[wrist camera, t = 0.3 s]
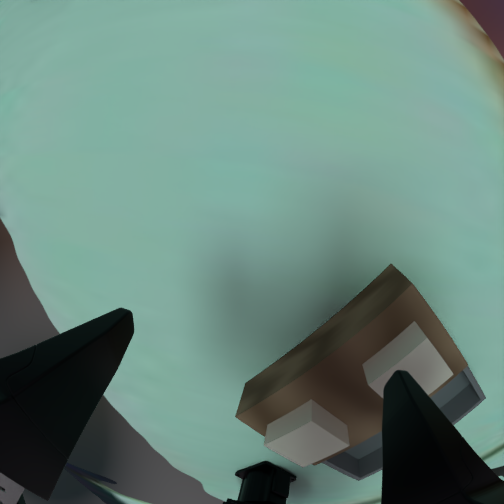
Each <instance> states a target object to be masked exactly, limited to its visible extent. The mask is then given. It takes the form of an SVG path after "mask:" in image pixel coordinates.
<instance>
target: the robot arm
mask: <svg viewBox="0 0 504 504" xmlns="http://www.w3.org/2000/svg"><path fill="white" fill-rule="evenodd" d="M133 334H134V322H133V314H132V312H131V311H130V310H127V309H124V308H118V309H116V310H113V311H111V312H109V313H107V314H104V315H102V316H100V317H98V318H95V319H93V320H91V321H88V322H86V323H84V324H82V325H79V326H77V327H75V328H73V329H70V330H68V331H66V332H63V333H61V334H59V335H57V336H54V337H52V338H50V339H48V340H45V341H43V342H41V343H39V344H37V345H34V346H32V347H30V348H27V349H25V350H22V351H20V352H17V353H15V354H12V355H10V356H6V357H4V358H0V504H26V503H25V500H24V497H23V494H22V492H23V490H24V489H27V490H29V491H31V492H32V493H34V494H36V495H38V496H39V497H41V498H43V499H45V500H47V501H48V500H49V498H50V496H51V494H52V491H53V490H54V487H55V485H56V483H57V481H58V479H59V477H60V475H61V473H62V471H63V469H64V467H65V465H66V463H67V461H68V460H67V459H68V458H69V456H70V454H71V452H72V451H73V449H74V447H75V445H76V443H77V441H78V439H79V437H80V435H81V433H82V432H83V430H84V427H85V426H86V424H87V422H88V420H89V419H90V417H91V415H92V413H93V411H94V410H95V408H96V406H97V404H98V402H99V401H100V399H101V397H102V395H103V394H104V392H105V390H106V388H107V387H108V385H109V383H110V382H111V380H112V378H113V376H114V375H115V373H116V371H117V369H118V367H119V365H120V363H121V361H122V358H123V356H124V354H125V352H126V349H127V347H128V345H129V343H130V341H131V339H132V336H133ZM382 457H383V467H382V500H381V504H504V481H503V480H501V479H500V478H499V477H498V476H497V475H496V474H495V473H494V472H493V471H492V470H491V469H490V468H489V467H488V466H487V464H486V463H485V462H484V461H483V460H482V459H481V458H480V457H479V456H478V455H477V454H476V453H475V451H474V450H473V449H472V448H471V447H470V445H469V444H468V443H467V442H466V440H465V439H464V438H463V437H462V435H461V434H460V433H459V432H458V431H457V429H456V428H455V427H454V426H453V424H452V423H451V422H450V421H449V419H448V418H447V417H446V416H445V415H444V413H443V412H442V411H441V410H440V409H439V407H438V406H437V405H436V404H435V403H434V401H433V400H432V399H431V398H430V397H429V396H428V394H427V393H426V392H425V391H424V390H423V389H422V387H421V386H420V385H419V384H418V383H417V382H416V380H415V379H414V378H413V377H412V376H411V375H410V374H409V372H408V371H405V370H396V371H395V372H394V373H393V375H392V376H391V377H390V379H389V380H388V381H387V383H386V384H385V386H384V390H383V414H382ZM235 475H236V476H237V477H239V478H241V479H243V481H242V484H241V488H240V492H239V496H238V500H232V499H227V502H223V504H286V498H288V495H289V486H290V482H293V481H295V480H296V476H294V475H292V474H290V473H288V472H286V471H284V470H282V469H280V468H278V467H276V466H274V465H272V464H271V463H269V462H262V463H259V464H257V465H254V466H252V467H249V468H246V469H243V470H240V471H237V472H236V473H235Z"/></svg>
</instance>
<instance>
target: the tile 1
mask: <svg viewBox="0 0 504 504" xmlns="http://www.w3.org/2000/svg"><path fill="white" fill-rule="evenodd" d="M264 446H266V447H267V448H269V449H271V450H273V451H274V452H276V453H278V454H279V455H281V456H283V457H285V458H286V459H288V460H290V461H292V462H294V463H296V464H297V465H299V466H301V467H305V466H308V465H310V464H313V463H315V462H317V461H319V460H322V459H324V458H326V457H328V456H330V455H332V454H334V453H336V452H338V451H340V450H342V449H344V448H346V447H348V446H350V445H349V436H348V428H347V425H346V424H345V423H343V422H342V421H340V420H339V419H338V418H336V417H335V416H334V415H332V414H331V413H329V412H328V411H327V410H325V409H324V408H323V407H321V406H320V405H319V404H317V403H316V402H315V401H313V400H312V399H311V400H309V401H308V402H306V403H305V404H303V405H301V406H300V407H298V408H296V409H295V410H293V411H291V412H289V413H288V414H286V415H284V416H282V417H281V418H279V419H277V420H275V421H273V422H272V423H270V424H268V425H267V430H266V436H265V441H264Z"/></svg>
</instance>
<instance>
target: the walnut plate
mask: <svg viewBox="0 0 504 504" xmlns="http://www.w3.org/2000/svg"><path fill="white" fill-rule="evenodd" d="M414 321H415V322H416V323H417V325H418V326H419V327H420V328H421V330H422V331H423V332H424V334H425V335H426V336H427V338H428V339H429V340H430V341H431V343H432V344H433V346H434V347H435V348H436V350H437V351H438V352H439V354H440V355H441V356H442V358H443V359H444V361H445V362H446V364H447V365H448V367H449V368H450V370H451V371H452V373H453V375H452V376H451V377H450V378H449V379H448V380H446V381H445V382H444V383H443V384H442V385H440V386H439V387H438V388H437V389H436V390H434V391H433V392H432V393H430V394H429V395H428V396H429V397H432V396H433V395H434V394H435V393H437V392H438V391H439V390H440V389H442V388H443V387H444V386H445V385H446V384H448V383H449V382H450V381H451V380H452V379H453V378H455V377H456V376H457V375H458V374H459V373H460V372H461V371H462V370H464V369H465V368H466V367H467V366H468V364H467V362H466V361H465V359H464V357H463V356H462V354H461V352H460V351H459V349H458V348H457V346H456V345H455V343H454V341H453V340H452V338H451V337H450V335H449V334H448V332H447V331H446V329H445V328H444V326H443V325H442V323H441V322H440V321H439V319H438V318H437V316H436V315H435V313H434V312H433V311H432V309H431V308H430V306H429V305H428V304H427V302H426V301H425V299H424V298H423V297H422V295H421V294H420V293H419V291H418V290H417V289H416V287H415V286H414V285H413V284H412V283H411V282H410V281H409V280H408V279H407V278H406V277H405V276H404V275H403V274H402V273H401V272H400V271H399V270H398V269H396V268H395V267H394V266H393V265H392V264H390V265H389V266H388V267H387V268H386V269H385V270H384V271H383V272H382V273H381V274H380V275H379V276H378V277H377V278H376V279H375V280H373V281H372V282H371V283H370V284H369V285H368V286H367V287H366V288H365V289H364V290H363V291H362V292H360V293H359V294H358V295H357V296H356V297H355V298H354V299H353V300H352V301H350V302H349V303H348V304H347V305H346V306H345V307H344V308H342V309H341V310H340V311H339V312H338V313H337V314H335V315H334V316H333V317H332V318H331V319H329V320H328V321H327V322H326V323H325V324H323V325H322V326H321V327H320V328H319V329H317V330H316V331H315V332H314V333H312V334H311V335H310V336H309V337H307V338H306V339H305V340H304V341H302V342H301V343H300V344H298V345H297V346H296V347H295V348H293V349H292V350H291V351H289V352H288V353H287V354H285V355H284V356H283V357H281V358H280V359H279V360H277V361H276V362H275V363H273V364H272V365H271V366H269V367H268V368H266V369H265V370H264V371H262V372H261V373H259V374H258V375H256V376H255V377H254V378H252V379H251V380H249V381H248V382H246V383H245V386H244V390H243V393H242V396H241V400H240V403H239V406H238V410H237V413H236V416H235V417H236V418H238V419H239V420H241V421H242V422H243V423H245V424H246V425H248V426H249V427H251V428H252V429H254V430H255V431H257V432H258V433H260V434H261V435H263V436H266V430H267V425H268V424H270V423H272V422H273V421H275V420H277V419H279V418H281V417H282V416H284V415H286V414H288V413H289V412H291V411H293V410H295V409H296V408H298V407H300V406H301V405H303V404H305V403H306V402H308V401H309V400H311V399H312V400H313V401H315V402H316V403H317V404H319V405H320V406H321V407H323V408H324V409H325V410H327V411H328V412H329V413H331V414H332V415H334V416H335V417H336V418H338V419H339V420H340V421H342V422H343V423H345V424H346V425H347V428H348V436H349V445H350V446H348V447H346V448H344V449H342V450H340V451H338V452H336V453H334V454H332V455H330V456H328V457H326V458H324V459H322V460H319V461H317V462H315V463H313V465H317V464H319V463H321V462H323V461H326V460H328V459H330V458H332V457H334V456H336V455H338V454H340V453H342V452H344V451H346V450H348V449H350V448H352V447H354V446H356V445H358V444H360V443H361V442H363V441H365V440H367V439H369V438H370V437H372V436H374V435H376V434H377V433H379V432H381V431H382V414H383V398H382V397H381V396H380V395H379V394H377V393H376V392H375V391H374V390H373V389H372V388H371V387H370V386H368V383H367V379H366V376H365V372H364V369H363V365H362V364H363V363H365V362H366V361H367V360H369V359H370V358H371V357H372V356H374V355H375V354H376V353H378V352H379V351H380V350H381V349H382V348H384V347H385V346H386V345H387V344H389V343H390V342H391V341H392V340H393V339H395V338H396V337H397V336H398V335H399V334H400V333H402V332H403V331H404V330H405V329H406V328H407V327H408V326H409V325H411V324H412V323H413V322H414Z"/></svg>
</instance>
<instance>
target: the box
mask: <svg viewBox="0 0 504 504" xmlns="http://www.w3.org/2000/svg"><path fill="white" fill-rule="evenodd" d="M430 398H431V399H432V400H433V401H434V403H435V404H436V405H437V406H438V407H439V409H440V410H441V411H442V412H443V413H444V415H445V416H446V417H447V418H448V419H449V421H450V422H451V423H452V424H453V425H454V424H455V423H457V422H458V421H459V420H461V419H462V418H463V417H464V416H466V415H467V414H468V413H469V412H470V411H472V410H473V409H474V408H475V407H476V406H478V405H479V404H480V403H481V402H482V401H483V400H484V399H485V398H486V397H485V395H484V393H483V392H482V390H481V388H480V386H479V384H478V383H477V381H476V379H475V377H474V376H473V374H472V372H471V370H470V369H469V367H468V366H467V367H466V368H465V369H464V370H462V371H461V372H460V373H459V374H458V375H457V376H456V377H455V378H453V379H452V380H451V381H450V382H449V383H448V384H446V385H445V386H444V387H443V388H442V389H440V390H439V391H438V392H437V393H435V394H434V395H433V396H432V397H430ZM322 463H324V464H326V465H327V466H329V467H331V468H333V469H335V470H337V471H339V472H341V473H343V474H345V475H347V476H349V477H352V478H354V479H356V480H358V481H359V480H361V479H364V478H366V477H368V476H370V475H372V474H374V473H376V472H378V471H380V470H382V467H383V457H382V431H381V432H379V433H377V434H376V435H374V436H372V437H370V438H369V439H367V440H365V441H363V442H361V443H360V444H358V445H356V446H354V447H352V448H350V449H348V450H346V451H344V452H342V453H340V454H338V455H336V456H334V457H332V458H330V459H328V460H326V461H323V462H322Z"/></svg>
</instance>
